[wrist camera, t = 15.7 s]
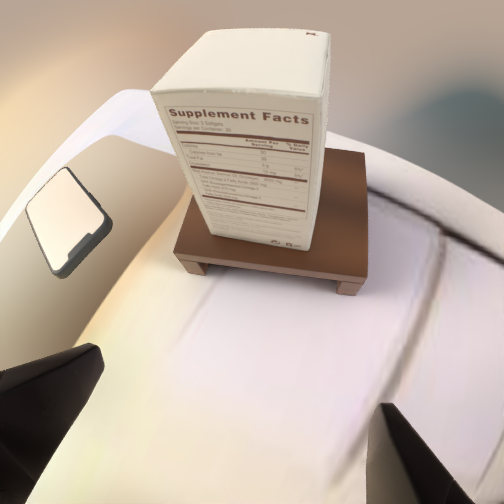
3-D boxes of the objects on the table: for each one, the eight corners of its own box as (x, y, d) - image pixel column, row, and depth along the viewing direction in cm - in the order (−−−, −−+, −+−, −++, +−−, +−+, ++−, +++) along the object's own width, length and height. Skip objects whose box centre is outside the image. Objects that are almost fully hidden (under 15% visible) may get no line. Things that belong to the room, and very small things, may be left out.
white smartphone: (29, 213, 32) (63, 286, 26) (22, 207, 30) (53, 280, 24) (71, 170, 34) (119, 226, 28) (66, 162, 33) (112, 218, 27)
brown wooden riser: (355, 296, 22) (367, 277, 19) (188, 273, 25) (172, 252, 21) (357, 180, 27) (364, 152, 24) (221, 167, 30) (214, 140, 26)
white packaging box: (236, 164, 25) (207, 28, 13) (323, 176, 23) (335, 30, 12) (208, 237, 22) (143, 90, 10) (309, 256, 20) (327, 93, 9)
